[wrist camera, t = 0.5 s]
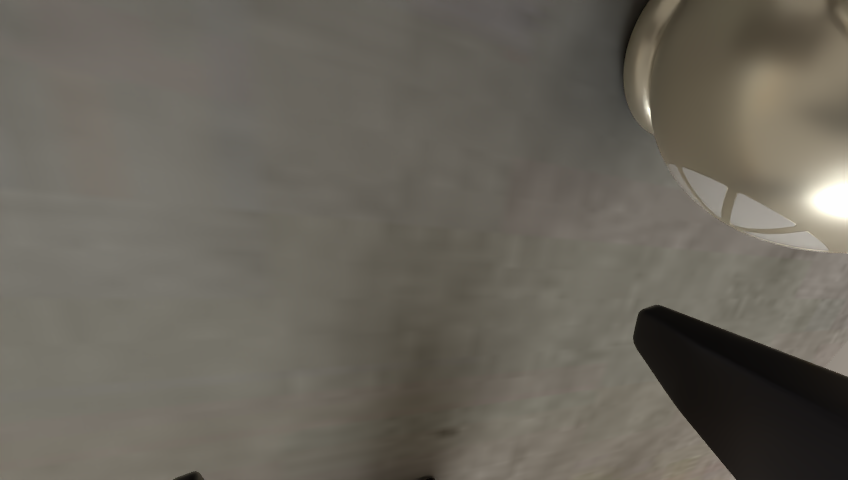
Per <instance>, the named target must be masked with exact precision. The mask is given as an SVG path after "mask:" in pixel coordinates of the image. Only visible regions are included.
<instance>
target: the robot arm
mask: <svg viewBox="0 0 848 480" xmlns="http://www.w3.org/2000/svg"><path fill="white" fill-rule="evenodd" d="M633 341H634V344H635V346H636V348H637V350H638V351H639V353H640V354H641V356H642V357H643V359H644V360H645V362H646V363H647V365H648V366H649V368H650V369H651V370H652V372H653V373H654V375H655V376H656V378H657V379H658V381H659V382H660V384H661V385H662V387H663V388H664V390H665V391H666V393H667V394H668V396H669V397H670V398H671V400H672V401H673V403H674V404H675V405H676V407H677V408H678V409H679V411H680V412H681V413H682V414H683V416H684V417H685V418H686V419H687V421H688V422H689V423H690V424H691V425H692V427H693V428H694V429H695V430H696V432H697V433H698V434H699V435H700V436H701V438H702V439H703V440H704V441H705V442H706V444H707V445H708V446H709V447H710V448H711V450H712V451H713V452H714V453H715V454H716V456H717V457H718V458H719V459H720V461H721V462H722V463H723V464H724V465H725V467H726V468H727V469H728V470H729V471H730V473H731V474H732V475H733V476H734V477H735V479H736V480H848V377H847V376H844V375H841V374H839V373H836V372H834V371H831V370H828V369H826V368H823V367H821V366H818V365H815V364H813V363H810V362H808V361H805V360H802V359H800V358H797V357H794V356H792V355H789V354H787V353H784V352H781V351H779V350H776V349H774V348H771V347H768V346H766V345H763V344H760V343H758V342H755V341H753V340H750V339H747V338H745V337H742V336H739V335H737V334H734V333H732V332H729V331H726V330H724V329H721V328H719V327H716V326H713V325H711V324H708V323H705V322H703V321H700V320H698V319H695V318H692V317H690V316H687V315H685V314H682V313H679V312H677V311H674V310H671V309H669V308H666V307H664V306H660V305H654V306H651V307H648V308H645V309H643V310H641V311H640V312H639V314H638V317H637V321H636V326H635V330H634V335H633ZM173 480H204V479H203V477H202V476H201V474H200V473H199V472H196V471H195V472H191V473H188V474H185V475H183V476H180V477H177V478H175V479H173ZM426 480H435V478H429V479H426Z"/></svg>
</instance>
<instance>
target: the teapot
mask: <svg viewBox="0 0 848 480" xmlns="http://www.w3.org/2000/svg"><path fill="white" fill-rule="evenodd" d="M623 81H624V91H625V96H626V100H627V104H628V106H629V109H630V111H631V113H632V115H633V117H634V118H635V120H636V121H637V122H638V123H639V124H640V126H641V127H643V128H644V129H645V130H646V131H647V132H649V133H651V134H652V135H654V136H655V139H656V143H657V145H658V148H659V150H660V153H661V155H662V158H663V160H664V162H665V164H666V166H667V167H668V169H669V171H670V172H671V174H672V175H673V177H674V178H675V180H676V181H677V182H678V184H679V185H680V186H681V187H682V189H683V190H684V191H685V192H686V193H687V194H688V195H689V196H690V197H691V198H692V199H693V200H694V201H695V202H696V203H697V204H698V205H699V206H700V207H702V208H703V209H704V210H705V211H707V212H708V213H709V214H711V215H712V216H714V217H715V218H717V219H718V220H720V221H721V222H723V223H725V224H727V225H728V226H730V227H732V228H734V229H736V230H738V231H740V232H742V233H745V234H747V235H749V236H752V237H754V238H757V239H760V240H763V241H766V242H769V243H773V244H776V245H780V246H785V247H789V248H794V249H800V250H807V251H815V252H827V253H848V0H649V1H648V3H647V4H646V6H645V8H644V9H643V11H642V13H641V14H640V16H639V18H638V20H637V22H636V24H635V27H634V29H633V31H632V34H631V37H630V40H629V43H628V47H627V51H626V55H625V61H624V72H623Z"/></svg>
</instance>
